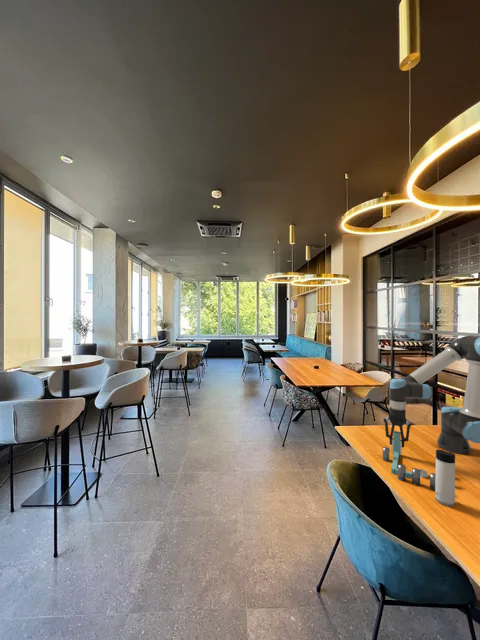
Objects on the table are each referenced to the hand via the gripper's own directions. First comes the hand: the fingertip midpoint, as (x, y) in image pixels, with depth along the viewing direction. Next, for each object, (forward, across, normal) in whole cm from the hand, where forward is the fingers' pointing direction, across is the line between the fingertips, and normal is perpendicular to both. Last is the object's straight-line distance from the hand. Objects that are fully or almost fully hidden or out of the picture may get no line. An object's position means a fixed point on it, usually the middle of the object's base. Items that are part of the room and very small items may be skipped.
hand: (396, 451), depth 149 cm
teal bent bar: (+2, +3, -11) cm, 11 cm away
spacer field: (+2, +7, -18) cm, 19 cm away
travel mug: (+2, +18, -34) cm, 39 cm away
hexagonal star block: (+2, +11, -16) cm, 20 cm away
